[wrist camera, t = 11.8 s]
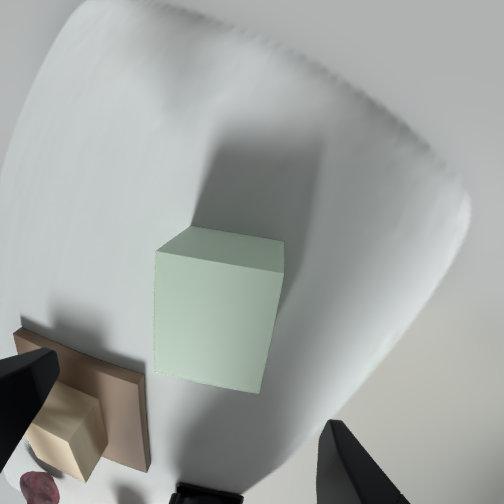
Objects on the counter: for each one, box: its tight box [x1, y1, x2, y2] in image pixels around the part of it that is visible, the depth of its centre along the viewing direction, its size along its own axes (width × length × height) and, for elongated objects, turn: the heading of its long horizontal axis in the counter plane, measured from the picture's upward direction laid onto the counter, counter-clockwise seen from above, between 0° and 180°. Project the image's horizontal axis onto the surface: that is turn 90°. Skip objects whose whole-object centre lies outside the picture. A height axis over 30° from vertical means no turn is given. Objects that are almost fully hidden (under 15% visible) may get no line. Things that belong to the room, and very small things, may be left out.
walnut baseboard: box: [13, 327, 151, 473], centre depth 21 cm, size 12×12×1 cm
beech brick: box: [25, 381, 108, 483], centre depth 18 cm, size 5×6×5 cm
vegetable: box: [20, 471, 60, 504], centre depth 24 cm, size 6×6×10 cm
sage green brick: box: [154, 226, 284, 394], centre depth 15 cm, size 5×6×5 cm
